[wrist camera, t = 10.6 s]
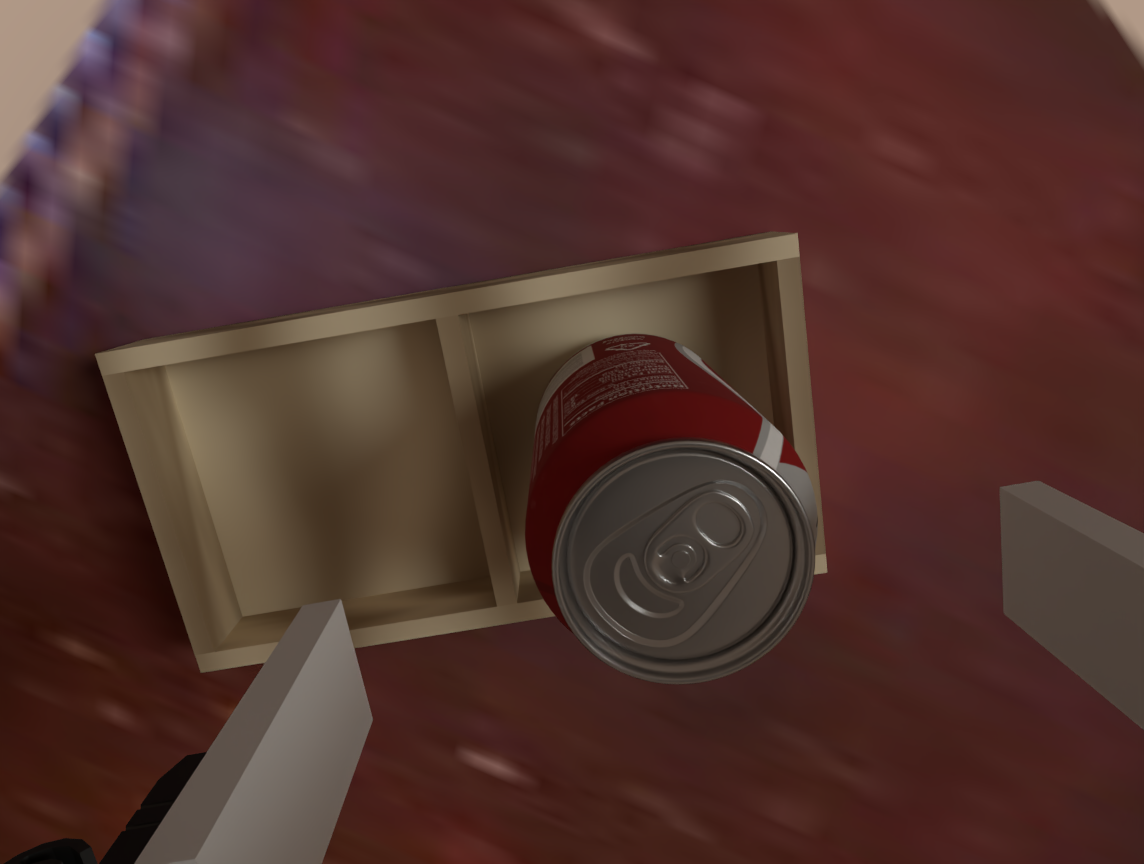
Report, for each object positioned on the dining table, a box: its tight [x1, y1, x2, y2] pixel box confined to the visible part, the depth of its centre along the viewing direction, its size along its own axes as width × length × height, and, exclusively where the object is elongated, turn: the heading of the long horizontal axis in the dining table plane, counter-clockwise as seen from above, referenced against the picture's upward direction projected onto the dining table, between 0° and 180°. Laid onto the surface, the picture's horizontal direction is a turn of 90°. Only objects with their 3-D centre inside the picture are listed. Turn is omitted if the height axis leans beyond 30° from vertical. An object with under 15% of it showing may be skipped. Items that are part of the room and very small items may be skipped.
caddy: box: [95, 232, 827, 673], centre depth 27 cm, size 22×11×3 cm, turn 100°
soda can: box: [525, 333, 818, 684], centre depth 22 cm, size 7×7×12 cm
